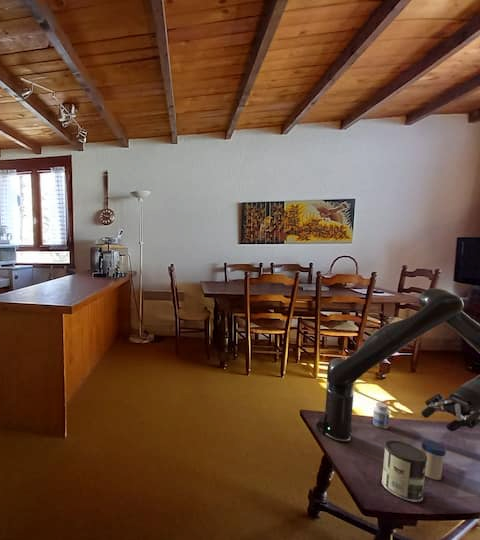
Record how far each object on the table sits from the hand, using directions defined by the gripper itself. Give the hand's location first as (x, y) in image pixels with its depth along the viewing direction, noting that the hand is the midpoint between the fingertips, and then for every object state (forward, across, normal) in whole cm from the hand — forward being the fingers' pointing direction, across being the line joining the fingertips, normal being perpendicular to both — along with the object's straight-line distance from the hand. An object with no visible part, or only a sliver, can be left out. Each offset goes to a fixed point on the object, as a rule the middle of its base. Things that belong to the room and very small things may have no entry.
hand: (435, 422), depth 107 cm
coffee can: (+26, -6, -6) cm, 27 cm away
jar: (+12, 0, -15) cm, 19 cm away
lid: (+6, 0, -7) cm, 9 cm away
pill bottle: (+6, +29, -18) cm, 35 cm away
